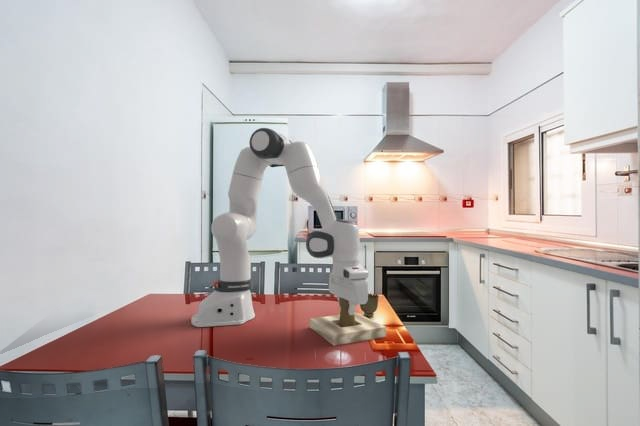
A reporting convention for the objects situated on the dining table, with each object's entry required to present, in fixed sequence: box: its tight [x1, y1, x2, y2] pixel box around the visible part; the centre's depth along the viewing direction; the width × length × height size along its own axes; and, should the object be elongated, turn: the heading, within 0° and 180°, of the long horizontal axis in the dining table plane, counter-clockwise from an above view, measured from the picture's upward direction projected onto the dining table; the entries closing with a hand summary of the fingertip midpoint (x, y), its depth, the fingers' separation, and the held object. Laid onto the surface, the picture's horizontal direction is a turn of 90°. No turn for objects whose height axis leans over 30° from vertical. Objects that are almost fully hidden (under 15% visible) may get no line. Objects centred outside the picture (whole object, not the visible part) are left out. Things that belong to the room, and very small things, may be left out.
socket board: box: [309, 312, 387, 346], centre depth 108 cm, size 18×18×3 cm
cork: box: [338, 298, 356, 328], centre depth 108 cm, size 6×6×11 cm
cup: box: [359, 292, 379, 318], centre depth 125 cm, size 8×7×8 cm
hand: (346, 312), depth 108 cm, fingers open, 4 cm apart
